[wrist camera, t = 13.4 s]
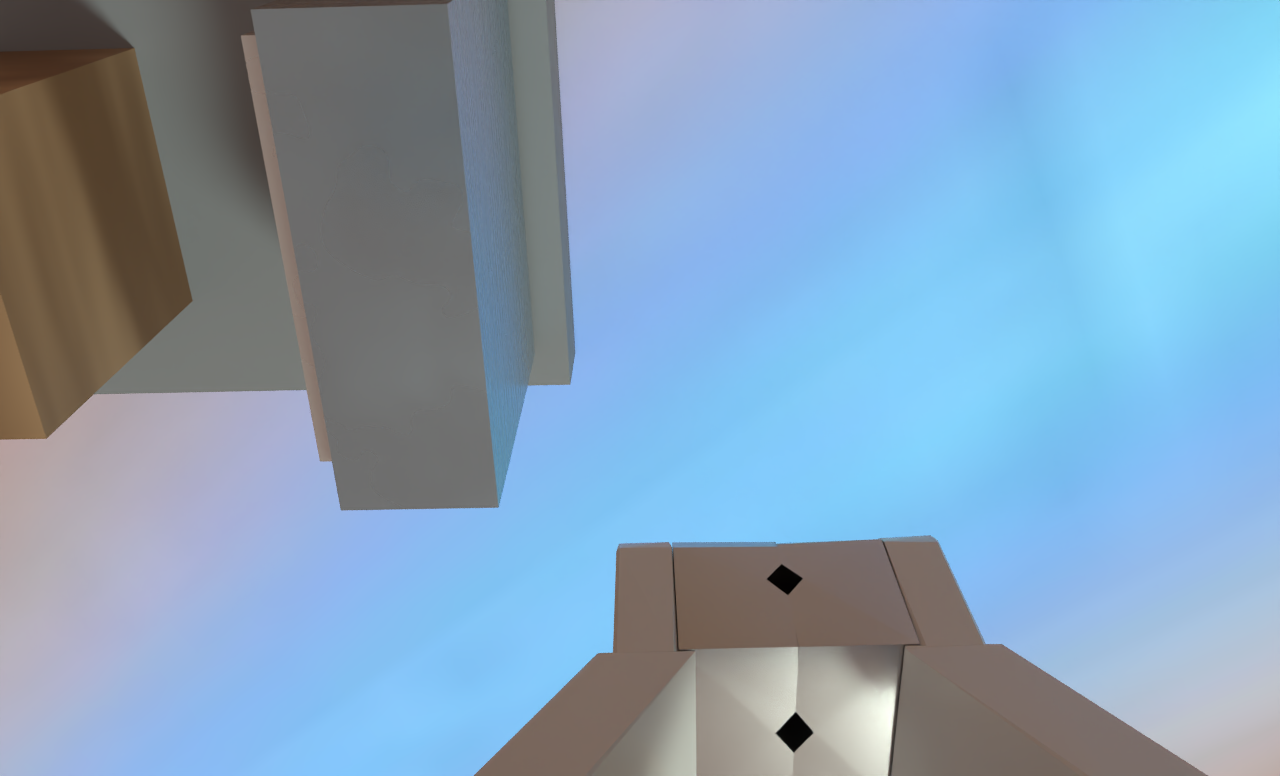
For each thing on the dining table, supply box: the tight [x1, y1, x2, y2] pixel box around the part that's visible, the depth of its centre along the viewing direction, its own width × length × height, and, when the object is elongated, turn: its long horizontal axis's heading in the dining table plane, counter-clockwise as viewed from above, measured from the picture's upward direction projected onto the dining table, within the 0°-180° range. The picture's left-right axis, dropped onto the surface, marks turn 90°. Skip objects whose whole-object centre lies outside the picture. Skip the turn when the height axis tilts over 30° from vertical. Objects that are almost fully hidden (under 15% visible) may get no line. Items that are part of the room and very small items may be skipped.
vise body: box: [0, 0, 575, 394], centre depth 22 cm, size 22×11×9 cm, turn 92°
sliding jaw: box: [241, 0, 535, 510], centre depth 21 cm, size 4×9×7 cm, turn 2°
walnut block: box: [0, 48, 193, 439], centre depth 21 cm, size 4×6×7 cm, turn 2°
